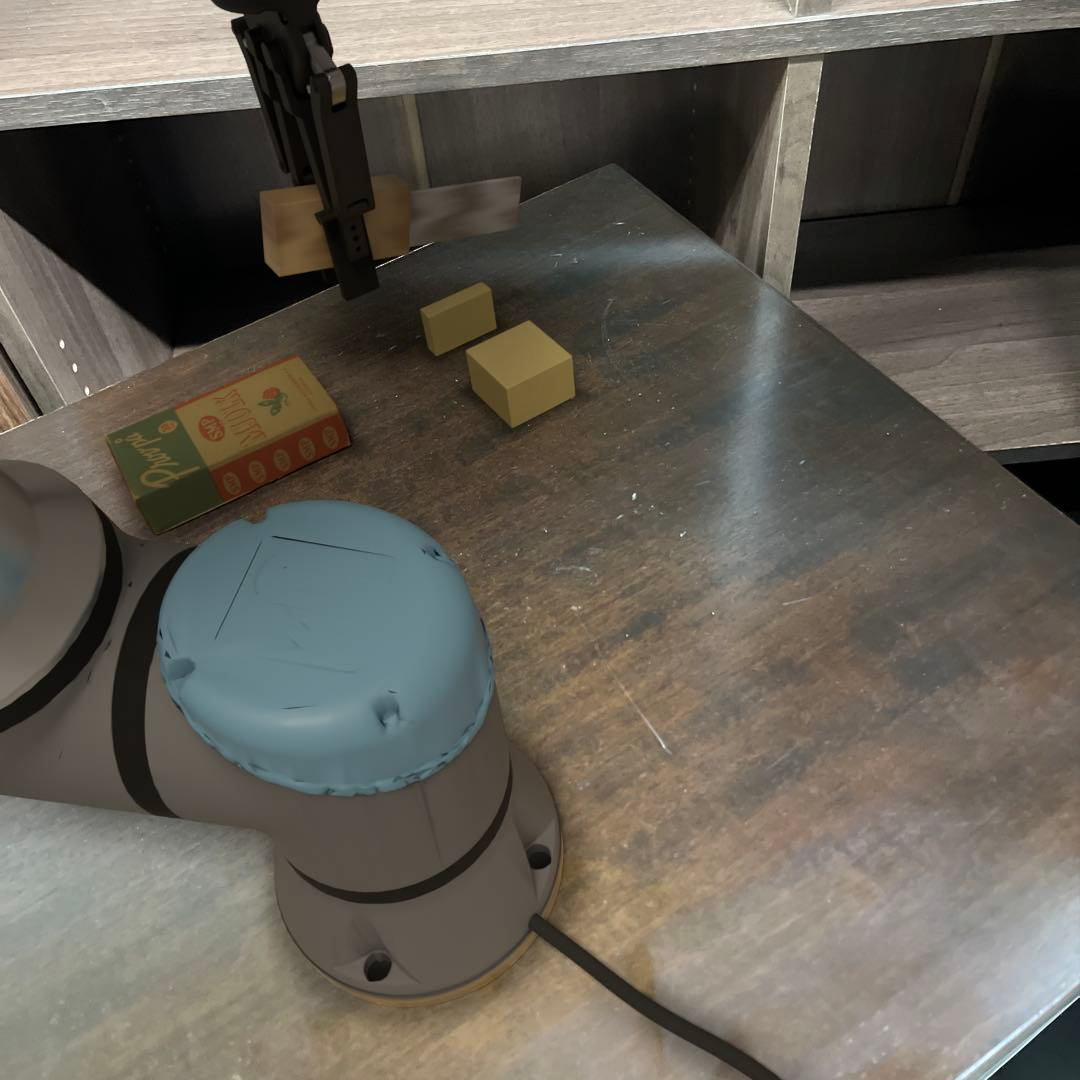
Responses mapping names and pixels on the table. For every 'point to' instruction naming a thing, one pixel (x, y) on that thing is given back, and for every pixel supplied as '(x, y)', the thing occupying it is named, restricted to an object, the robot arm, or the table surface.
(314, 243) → the knife
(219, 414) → the carton
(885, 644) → the table surface
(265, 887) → the table surface
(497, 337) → the butter
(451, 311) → the butter slice
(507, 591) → the table surface
